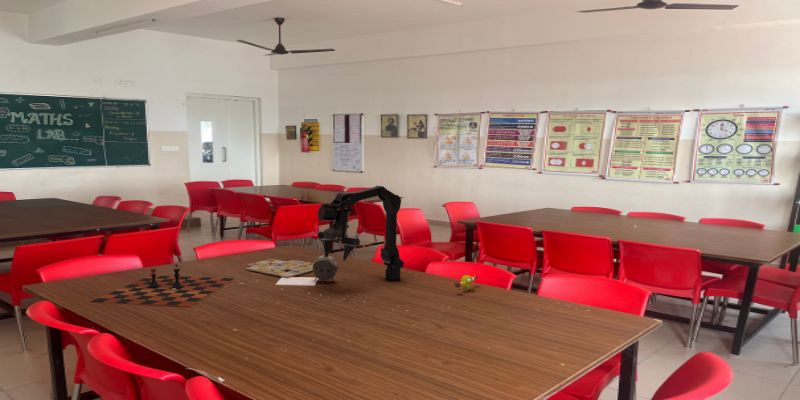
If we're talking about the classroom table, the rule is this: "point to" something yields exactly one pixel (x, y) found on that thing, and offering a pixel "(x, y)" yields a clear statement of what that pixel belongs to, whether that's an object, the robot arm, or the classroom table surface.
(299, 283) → the white sheet of paper
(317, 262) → the alarm clock
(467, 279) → the toy figure
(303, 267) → the alphabet tiles
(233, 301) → the classroom table surface
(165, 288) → the chessboard
